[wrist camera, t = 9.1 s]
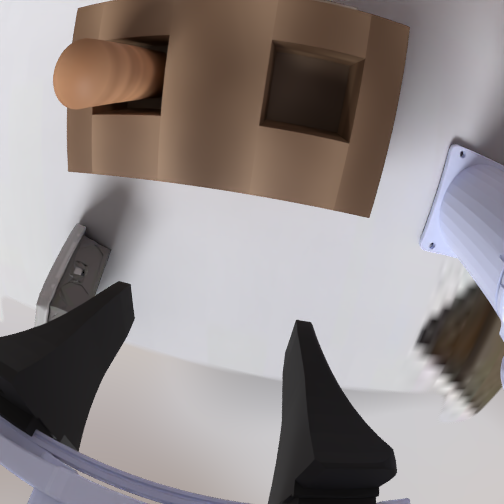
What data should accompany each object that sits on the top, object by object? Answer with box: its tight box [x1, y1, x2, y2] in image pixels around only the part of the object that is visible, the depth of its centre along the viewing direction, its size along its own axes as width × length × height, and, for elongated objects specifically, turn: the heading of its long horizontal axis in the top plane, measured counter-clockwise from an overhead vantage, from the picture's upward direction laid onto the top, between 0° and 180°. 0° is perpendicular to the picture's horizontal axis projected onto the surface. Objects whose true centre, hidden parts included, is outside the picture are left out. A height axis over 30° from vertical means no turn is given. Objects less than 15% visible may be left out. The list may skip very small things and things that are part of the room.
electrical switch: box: [35, 224, 111, 327], centre depth 22 cm, size 9×5×9 cm, turn 145°
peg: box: [53, 38, 167, 109], centre depth 12 cm, size 3×3×8 cm
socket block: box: [67, 0, 410, 218], centre depth 15 cm, size 17×10×5 cm, turn 82°
